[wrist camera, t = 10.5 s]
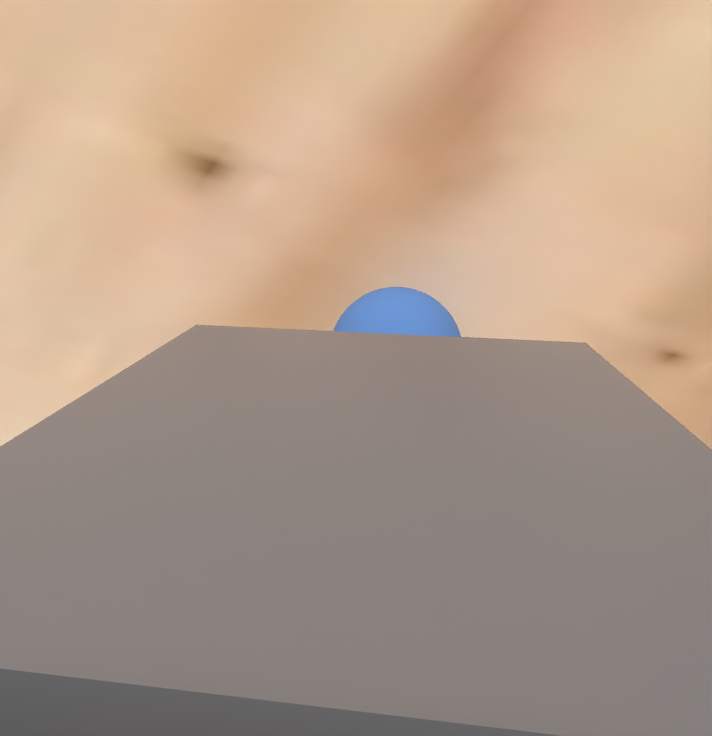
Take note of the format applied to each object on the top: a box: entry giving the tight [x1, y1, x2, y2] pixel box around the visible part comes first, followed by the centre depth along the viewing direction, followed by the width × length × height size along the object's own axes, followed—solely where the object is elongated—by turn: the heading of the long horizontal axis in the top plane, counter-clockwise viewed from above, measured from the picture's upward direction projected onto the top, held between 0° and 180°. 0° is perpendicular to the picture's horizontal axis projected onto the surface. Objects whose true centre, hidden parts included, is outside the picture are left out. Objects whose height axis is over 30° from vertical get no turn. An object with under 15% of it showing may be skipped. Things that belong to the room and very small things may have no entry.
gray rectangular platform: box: [0, 325, 712, 736], centre depth 7 cm, size 8×8×7 cm
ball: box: [334, 287, 461, 337], centre depth 18 cm, size 5×5×5 cm
